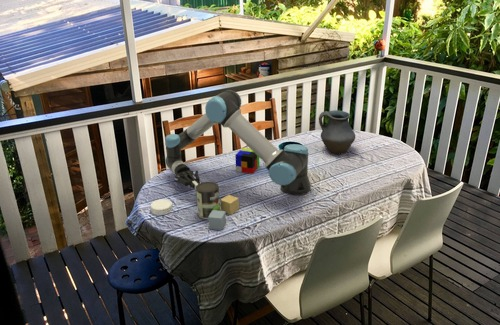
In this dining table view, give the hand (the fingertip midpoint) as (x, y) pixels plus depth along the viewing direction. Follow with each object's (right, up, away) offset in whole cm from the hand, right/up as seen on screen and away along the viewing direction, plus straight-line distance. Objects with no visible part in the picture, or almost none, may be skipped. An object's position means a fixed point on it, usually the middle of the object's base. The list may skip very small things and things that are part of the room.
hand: (198, 188), depth 213 cm
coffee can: (+5, -11, -5) cm, 13 cm away
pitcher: (+76, +19, +57) cm, 97 cm away
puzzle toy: (+23, +9, +38) cm, 45 cm away
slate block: (+10, -15, -15) cm, 23 cm away
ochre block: (+15, -10, -3) cm, 18 cm away
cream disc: (-17, -10, -1) cm, 20 cm away
